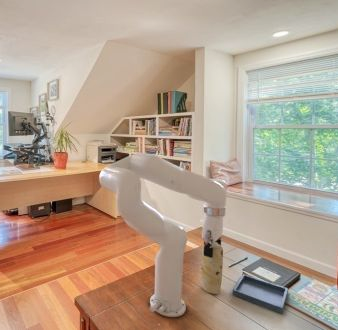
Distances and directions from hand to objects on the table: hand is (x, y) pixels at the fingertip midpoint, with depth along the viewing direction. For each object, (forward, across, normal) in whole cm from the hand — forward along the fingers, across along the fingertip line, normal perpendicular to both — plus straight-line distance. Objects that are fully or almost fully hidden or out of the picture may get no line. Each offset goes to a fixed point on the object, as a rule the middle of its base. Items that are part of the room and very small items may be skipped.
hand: (212, 252), depth 101 cm
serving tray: (+16, -10, +15) cm, 24 cm away
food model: (+16, 0, 0) cm, 16 cm away
